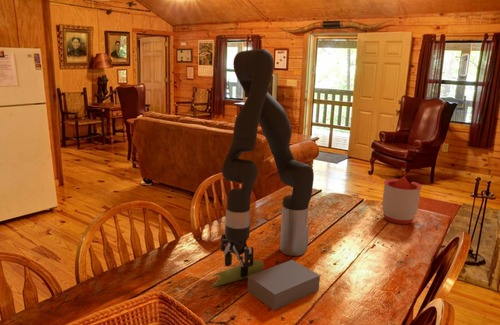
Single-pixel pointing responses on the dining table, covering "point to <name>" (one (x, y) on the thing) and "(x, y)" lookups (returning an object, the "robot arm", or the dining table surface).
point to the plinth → (283, 284)
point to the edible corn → (237, 273)
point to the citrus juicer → (400, 200)
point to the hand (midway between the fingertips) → (235, 270)
